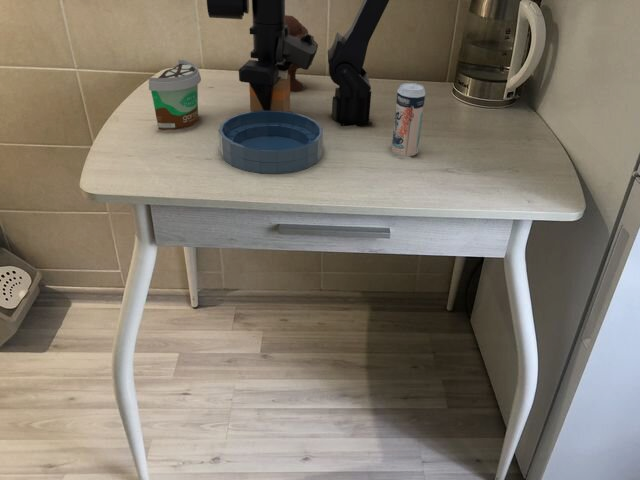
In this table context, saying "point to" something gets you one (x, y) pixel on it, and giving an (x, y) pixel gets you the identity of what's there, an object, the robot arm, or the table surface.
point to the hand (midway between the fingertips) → (270, 106)
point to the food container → (176, 96)
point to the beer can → (408, 119)
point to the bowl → (271, 141)
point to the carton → (275, 95)
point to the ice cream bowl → (299, 31)
